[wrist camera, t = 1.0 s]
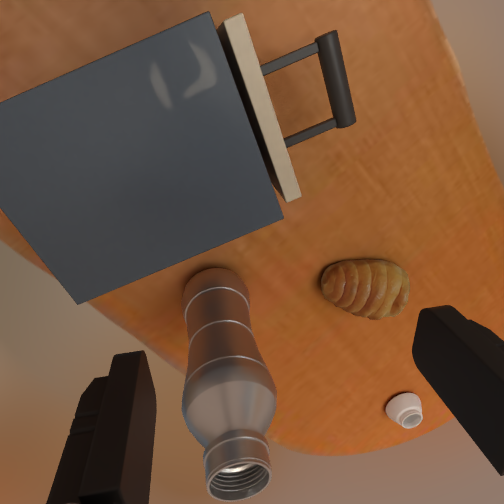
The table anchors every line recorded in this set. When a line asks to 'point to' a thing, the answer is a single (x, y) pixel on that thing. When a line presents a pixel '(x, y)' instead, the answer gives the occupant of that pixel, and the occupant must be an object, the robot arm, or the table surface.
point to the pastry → (367, 287)
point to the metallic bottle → (227, 386)
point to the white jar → (405, 410)
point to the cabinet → (134, 162)
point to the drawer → (259, 102)
